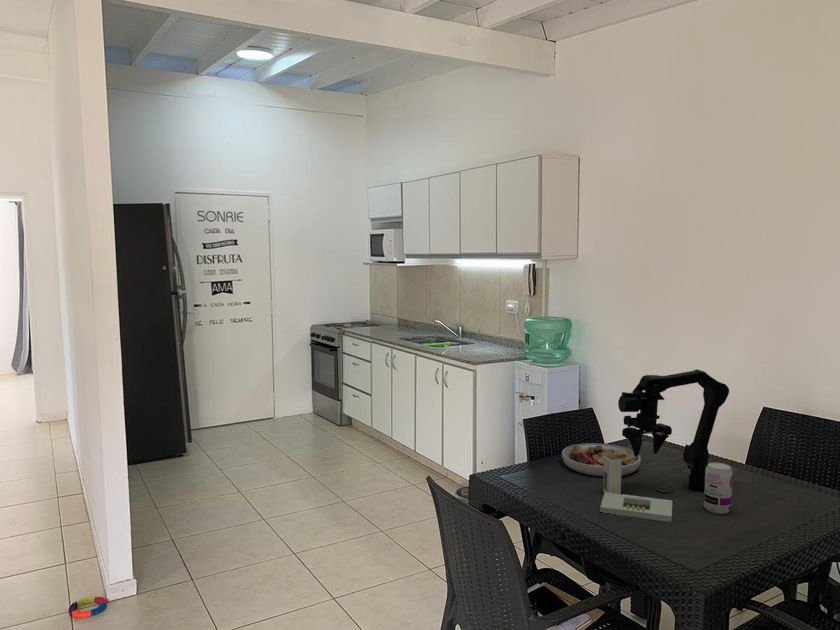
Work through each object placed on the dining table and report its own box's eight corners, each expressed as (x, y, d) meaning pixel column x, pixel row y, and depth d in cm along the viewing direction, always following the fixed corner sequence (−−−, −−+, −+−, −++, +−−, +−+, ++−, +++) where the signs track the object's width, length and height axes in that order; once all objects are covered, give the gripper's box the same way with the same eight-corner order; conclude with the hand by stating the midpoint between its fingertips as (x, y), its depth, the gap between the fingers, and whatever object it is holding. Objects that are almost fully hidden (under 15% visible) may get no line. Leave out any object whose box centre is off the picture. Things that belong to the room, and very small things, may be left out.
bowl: (589, 450, 290) (589, 432, 289) (654, 467, 268) (655, 447, 267) (546, 466, 269) (546, 446, 269) (613, 485, 247) (613, 464, 247)
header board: (672, 506, 227) (672, 497, 227) (671, 522, 214) (671, 512, 214) (604, 497, 235) (604, 488, 235) (600, 512, 222) (600, 503, 222)
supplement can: (729, 506, 227) (731, 463, 225) (731, 516, 219) (734, 471, 217) (703, 503, 229) (704, 460, 228) (704, 512, 222) (706, 468, 220)
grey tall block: (614, 491, 241) (615, 454, 240) (620, 495, 237) (621, 458, 235) (601, 492, 240) (602, 454, 239) (606, 496, 236) (607, 458, 235)
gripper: (650, 404, 249) (647, 445, 251) (612, 408, 240) (609, 451, 242) (674, 411, 239) (671, 454, 241) (635, 416, 230) (632, 460, 232)
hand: (645, 455), depth 239 cm, fingers open, 9 cm apart
